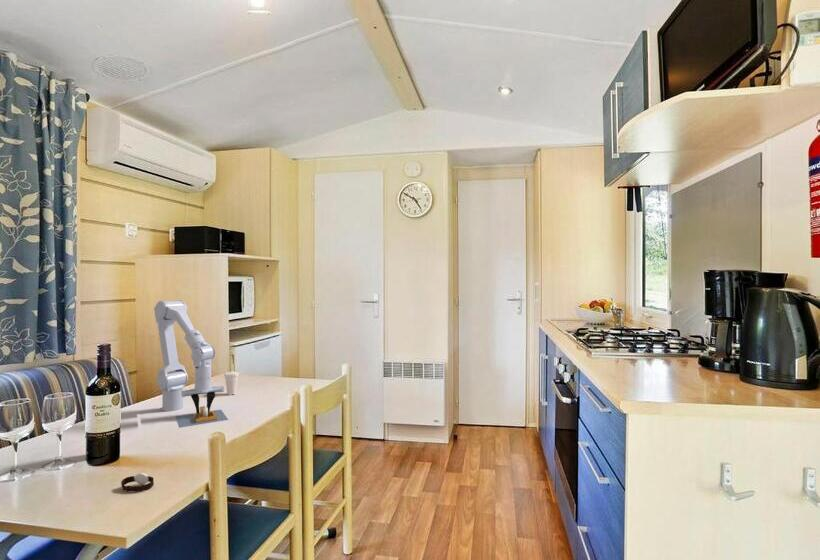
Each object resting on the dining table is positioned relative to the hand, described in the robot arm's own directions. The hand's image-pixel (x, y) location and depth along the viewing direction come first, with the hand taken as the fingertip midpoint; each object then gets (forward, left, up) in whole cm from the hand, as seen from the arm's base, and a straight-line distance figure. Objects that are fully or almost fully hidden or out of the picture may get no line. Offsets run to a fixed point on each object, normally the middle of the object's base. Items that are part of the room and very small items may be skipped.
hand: (202, 413), depth 166 cm
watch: (+53, -22, -2) cm, 57 cm away
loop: (+4, 0, -1) cm, 4 cm away
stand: (+4, -1, -2) cm, 4 cm away
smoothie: (-30, +16, -2) cm, 34 cm away
